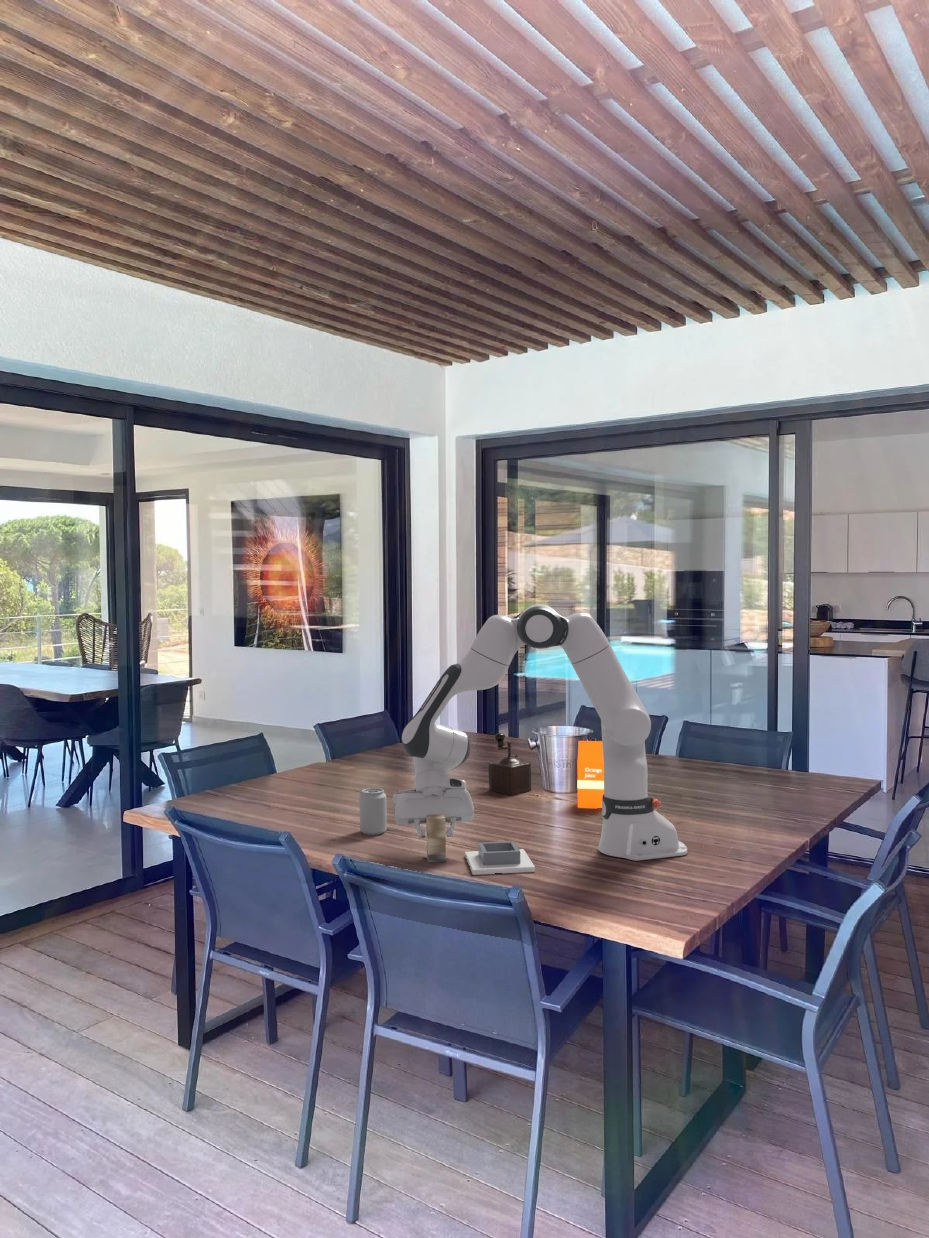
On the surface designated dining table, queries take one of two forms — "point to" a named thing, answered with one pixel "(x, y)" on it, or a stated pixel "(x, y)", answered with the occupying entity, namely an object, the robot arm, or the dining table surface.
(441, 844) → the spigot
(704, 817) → the dining table surface
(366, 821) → the can
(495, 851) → the dock
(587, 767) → the orange juice
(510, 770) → the manual coffee grinder
